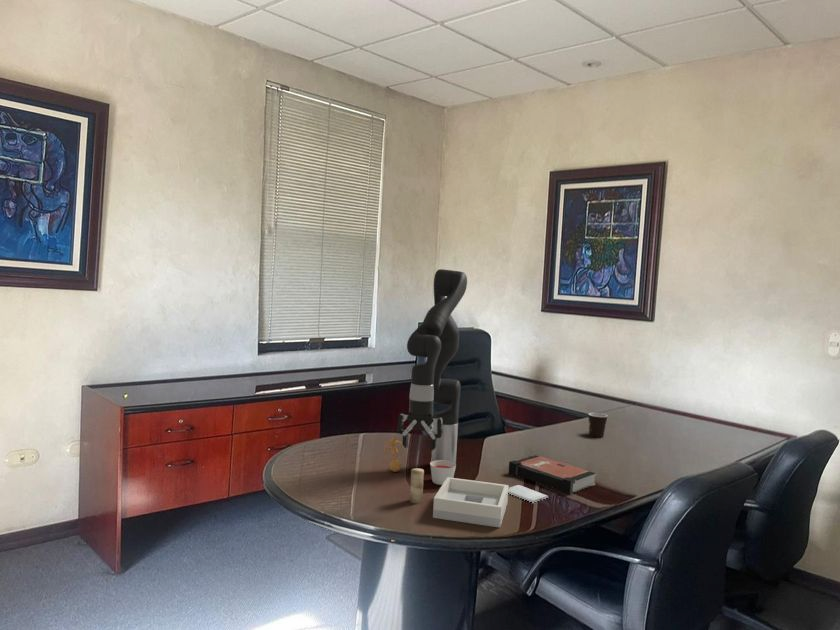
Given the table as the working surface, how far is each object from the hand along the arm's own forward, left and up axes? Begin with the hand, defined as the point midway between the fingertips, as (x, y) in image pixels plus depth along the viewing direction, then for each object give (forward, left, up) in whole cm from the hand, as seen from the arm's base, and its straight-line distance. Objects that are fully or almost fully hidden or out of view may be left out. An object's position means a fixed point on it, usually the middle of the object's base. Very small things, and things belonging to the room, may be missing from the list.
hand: (418, 448), depth 197 cm
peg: (0, 0, -17) cm, 17 cm away
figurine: (-26, -15, -17) cm, 35 cm away
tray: (+1, +18, -17) cm, 25 cm away
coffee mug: (-113, +59, -17) cm, 129 cm away
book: (-40, +41, -18) cm, 60 cm away
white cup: (-21, +4, -17) cm, 27 cm away
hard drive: (-19, +33, -18) cm, 42 cm away
